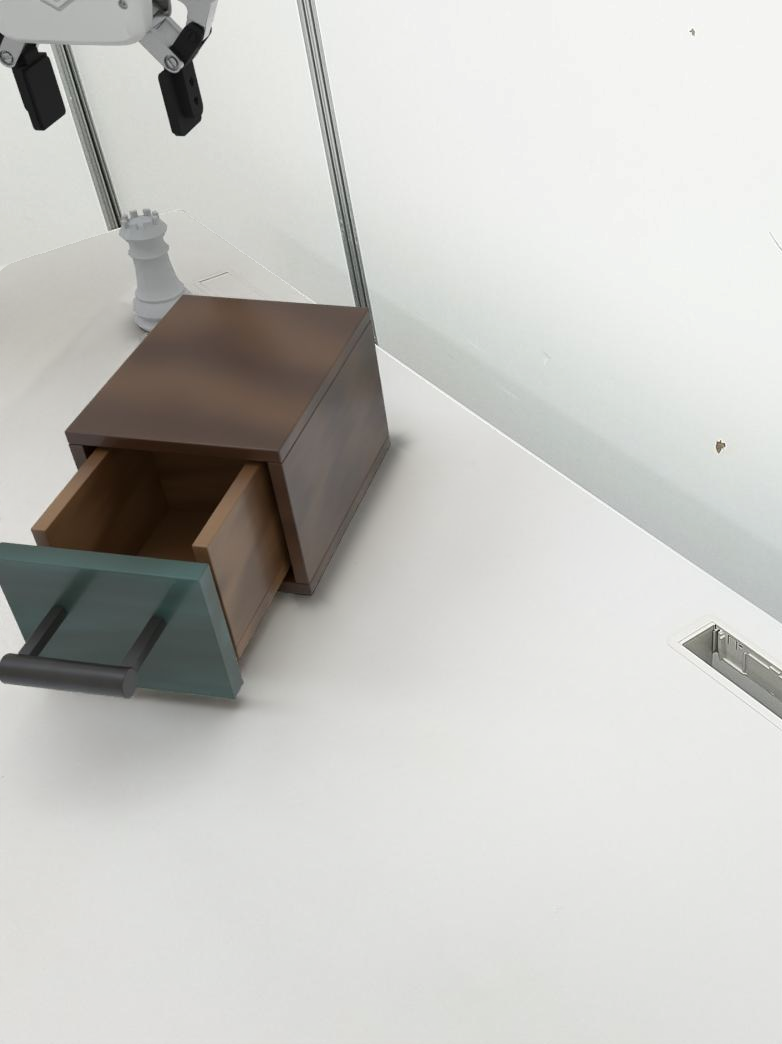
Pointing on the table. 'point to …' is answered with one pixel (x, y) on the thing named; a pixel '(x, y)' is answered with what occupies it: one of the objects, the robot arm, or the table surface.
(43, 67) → the robot arm
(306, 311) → the cabinet
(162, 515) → the drawer
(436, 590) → the table surface
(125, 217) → the rook chess piece
